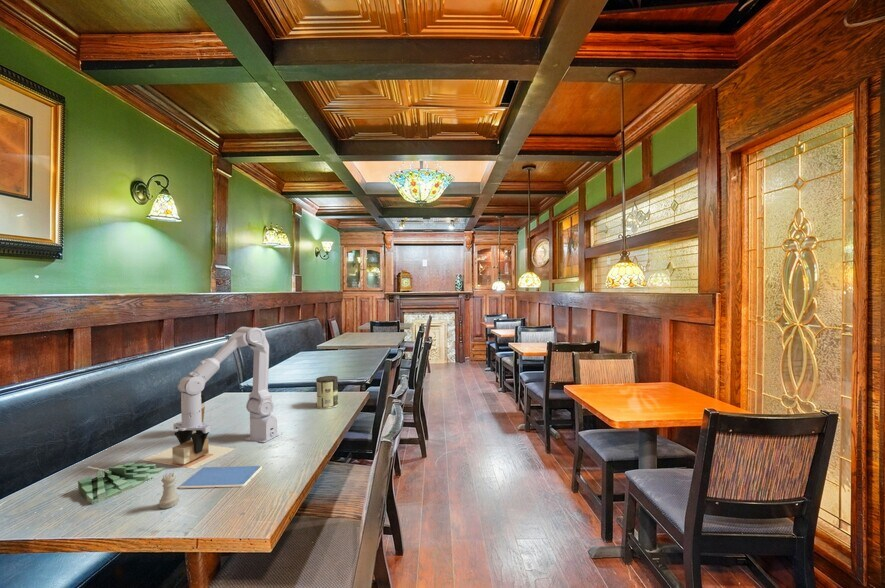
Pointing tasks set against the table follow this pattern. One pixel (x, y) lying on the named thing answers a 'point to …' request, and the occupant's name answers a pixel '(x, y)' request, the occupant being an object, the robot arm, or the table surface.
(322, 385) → the coffee can
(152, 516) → the table surface
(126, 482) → the money
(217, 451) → the mat
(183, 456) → the two tone block
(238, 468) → the tablet computer
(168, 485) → the rook chess piece
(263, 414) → the robot arm
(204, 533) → the table surface
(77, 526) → the table surface
